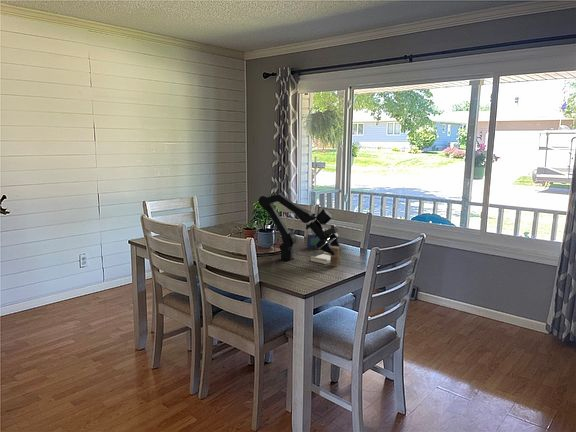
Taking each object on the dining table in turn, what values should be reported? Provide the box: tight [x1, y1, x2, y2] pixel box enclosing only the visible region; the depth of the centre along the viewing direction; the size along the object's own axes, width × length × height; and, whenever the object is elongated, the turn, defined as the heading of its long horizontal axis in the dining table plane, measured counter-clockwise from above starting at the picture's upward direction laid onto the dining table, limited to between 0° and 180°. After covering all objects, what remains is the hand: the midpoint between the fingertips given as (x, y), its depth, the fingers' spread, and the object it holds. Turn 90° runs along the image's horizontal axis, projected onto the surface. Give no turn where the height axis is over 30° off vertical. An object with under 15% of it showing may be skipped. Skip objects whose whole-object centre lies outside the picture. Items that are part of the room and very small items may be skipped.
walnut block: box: [329, 246, 342, 268], centre depth 229 cm, size 4×4×10 cm
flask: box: [306, 232, 320, 250], centre depth 264 cm, size 9×3×11 cm, turn 88°
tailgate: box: [309, 251, 331, 265], centre depth 240 cm, size 13×11×2 cm
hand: (337, 252), depth 229 cm, fingers open, 9 cm apart
